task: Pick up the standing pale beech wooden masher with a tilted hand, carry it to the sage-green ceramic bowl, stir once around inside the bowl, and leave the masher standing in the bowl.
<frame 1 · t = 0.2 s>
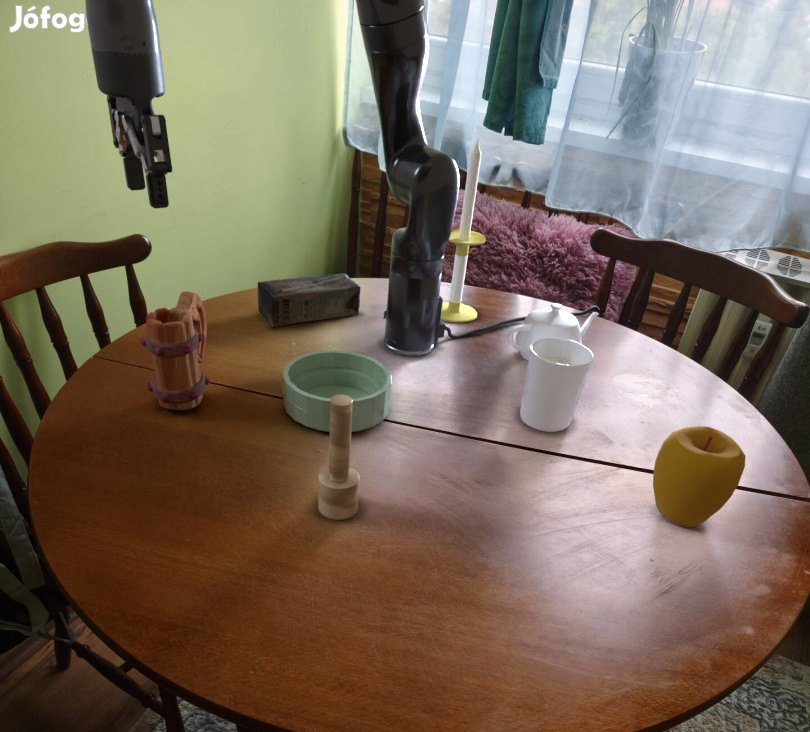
hand: (147, 198, 89), 29 cm above the table, tool pointing down, fingers open, 8 cm apart
apple: (677, 514, 97), on the table
wooden masher: (337, 507, 91), on the table
mug: (188, 396, 110), on the table
teapot: (546, 357, 132), on the table
bowl: (336, 408, 111), on the table
beverage carton: (309, 315, 137), on the table
candle: (453, 313, 145), on the table
white cup: (544, 419, 114), on the table
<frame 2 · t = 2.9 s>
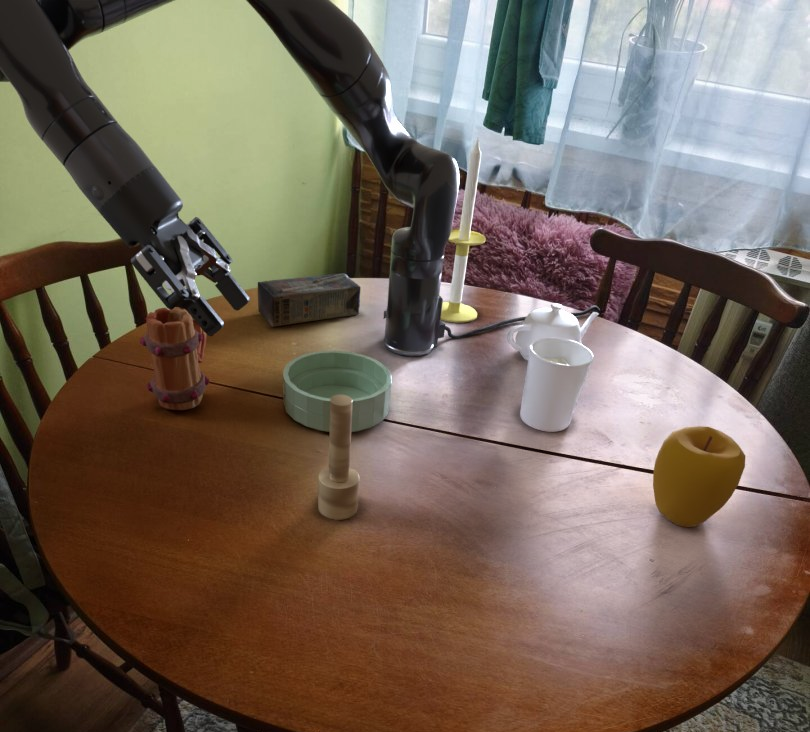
hand: (231, 318, 78), 23 cm above the table, tool tilted 40°, fingers open, 8 cm apart
nothing on the table moved.
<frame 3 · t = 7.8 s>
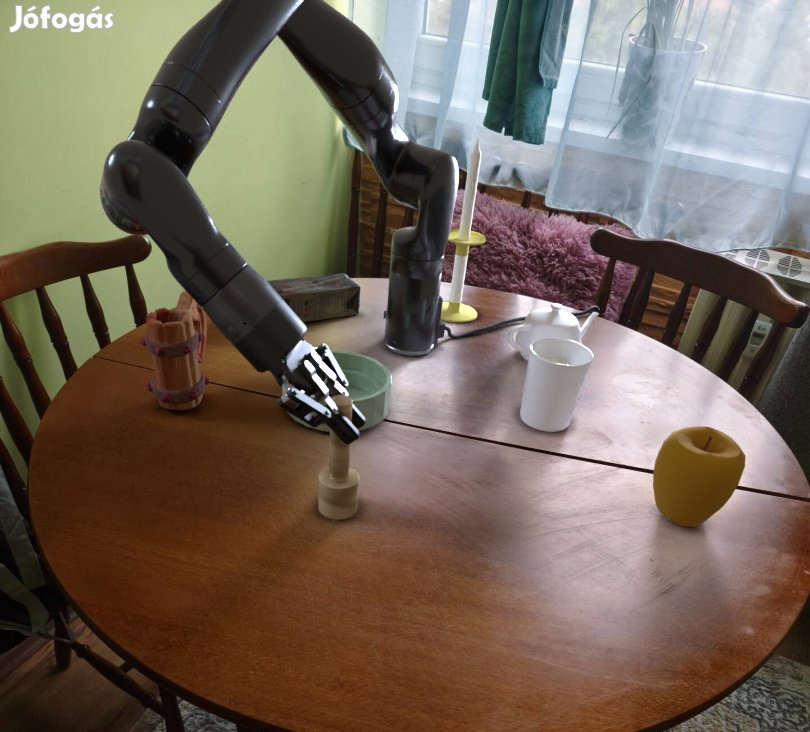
hand: (357, 432, 83), 12 cm above the table, tool tilted 45°, fingers closed on wooden masher, 2 cm apart
wooden masher: (337, 507, 91), on the table, touching gripper
everything else where it was.
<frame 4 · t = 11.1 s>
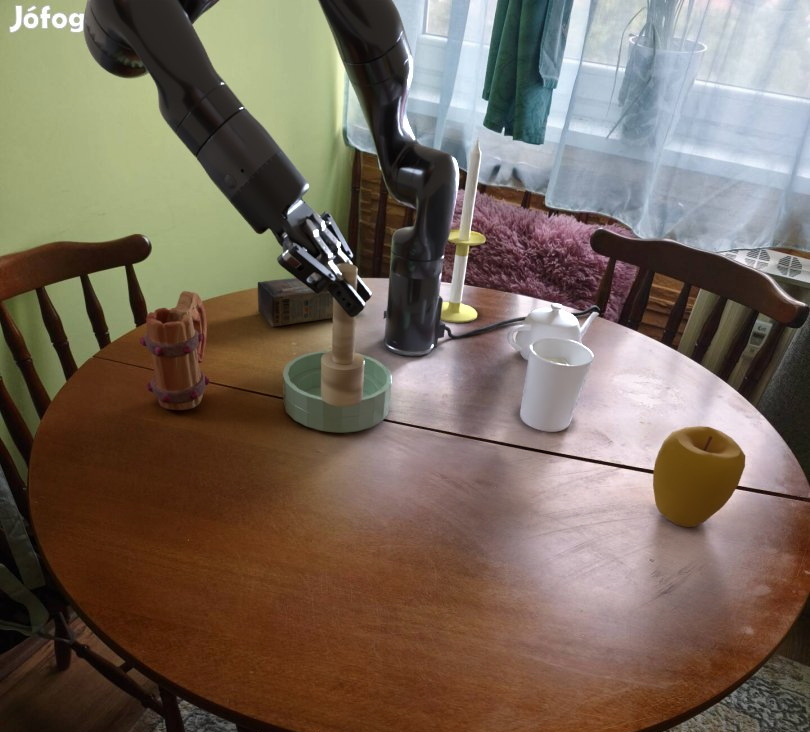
hand: (362, 306, 79), 25 cm above the table, tool tilted 45°, fingers closed on wooden masher, 2 cm apart
wooden masher: (341, 396, 86), point 14 cm above the table, touching gripper
everything else where it was.
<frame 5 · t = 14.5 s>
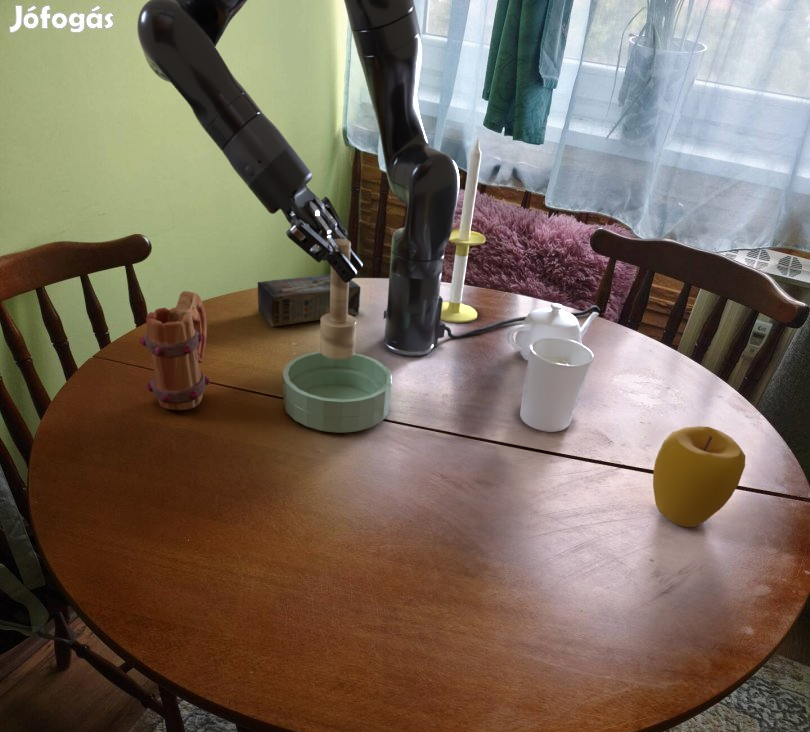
hand: (354, 274, 96), 22 cm above the table, tool tilted 45°, fingers closed on wooden masher, 2 cm apart
wooden masher: (337, 351, 104), point 10 cm above the table, touching gripper
everything else where it was.
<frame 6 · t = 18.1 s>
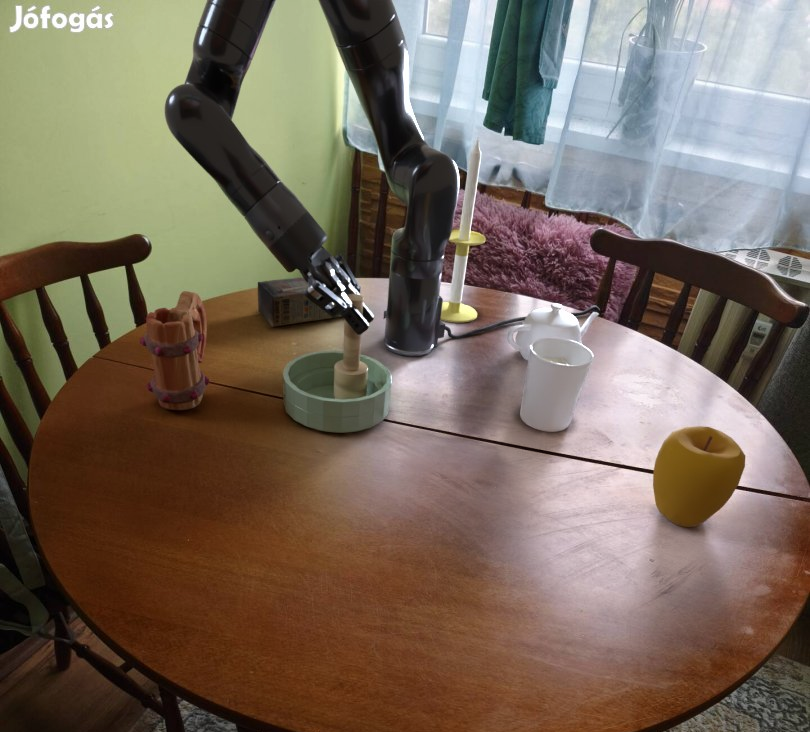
hand: (366, 326, 102), 14 cm above the table, tool tilted 45°, fingers closed on wooden masher, 2 cm apart
wooden masher: (349, 395, 110), point 2 cm above the table, touching gripper
everything else where it was.
when the fingers open (13 cm above the table, at t = 21.1 s): wooden masher stays where it is, resting on bowl.
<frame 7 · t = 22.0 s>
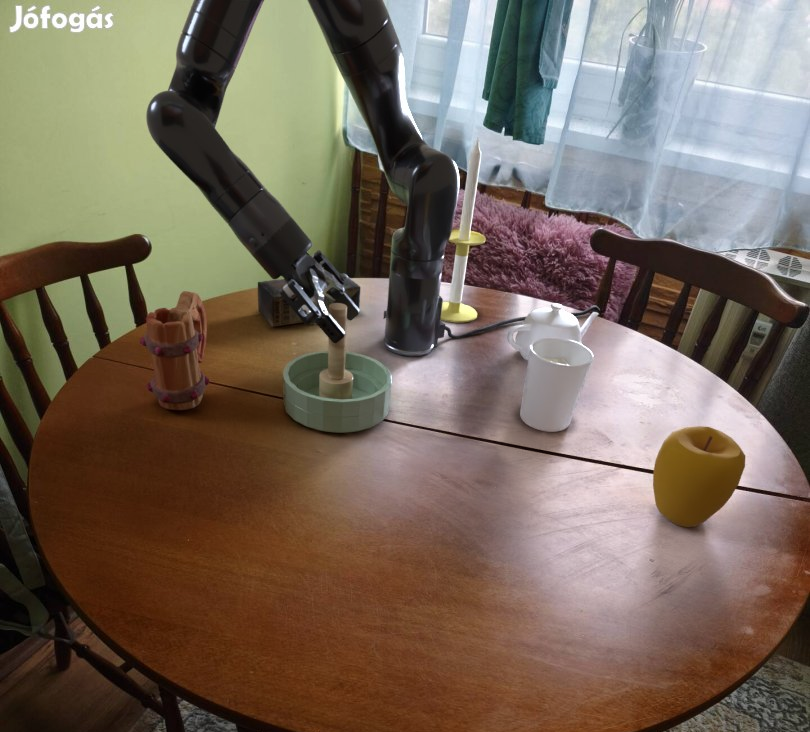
hand: (348, 327, 101), 14 cm above the table, tool tilted 45°, fingers open, 8 cm apart
wooden masher: (335, 404, 110), point 1 cm above the table, touching bowl
everything else where it was.
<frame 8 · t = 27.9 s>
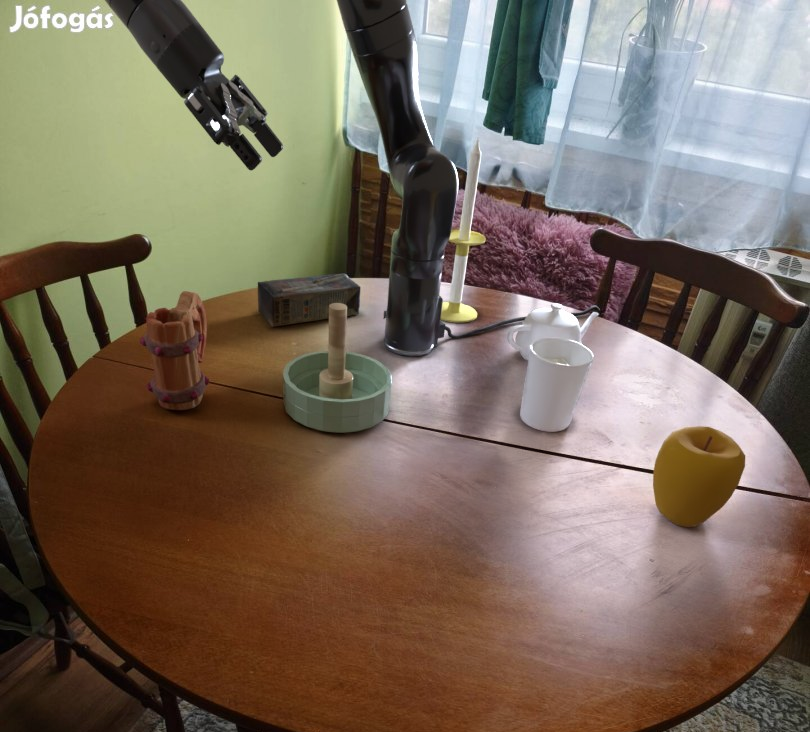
hand: (268, 159, 93), 34 cm above the table, tool tilted 45°, fingers open, 8 cm apart
nothing on the table moved.
at the end: wooden masher inside the target area in the bowl (0.2 cm from its centre), point 0.8 cm above the bowl's base; wooden masher tilted 0°; the gripper is holding nothing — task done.
